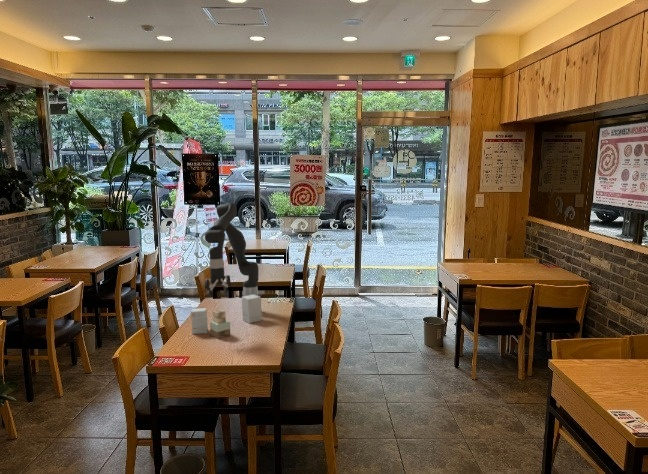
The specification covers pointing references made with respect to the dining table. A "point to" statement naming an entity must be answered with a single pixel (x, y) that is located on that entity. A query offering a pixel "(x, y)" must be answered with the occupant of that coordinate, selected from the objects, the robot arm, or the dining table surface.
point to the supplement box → (251, 308)
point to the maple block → (219, 316)
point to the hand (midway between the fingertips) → (218, 295)
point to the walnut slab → (220, 333)
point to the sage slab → (220, 326)
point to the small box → (199, 321)
